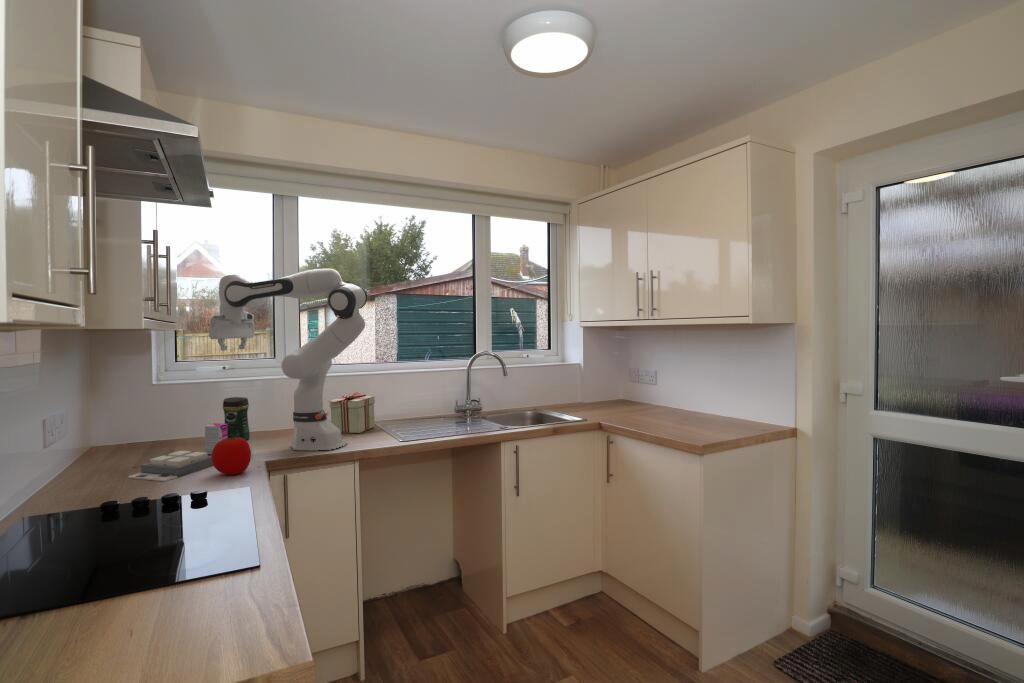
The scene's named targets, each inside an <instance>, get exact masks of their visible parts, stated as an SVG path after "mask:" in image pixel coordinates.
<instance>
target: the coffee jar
mask: <svg viewBox="0 0 1024 683" xmlns="http://www.w3.org/2000/svg"><path fill="white" fill-rule="evenodd" d="M249 406H250V404H249V399H248V397H245V396H243V397H240V396H239V397H238V396H234V397H232V396H231V397H226V398H224V399H223V401H222V410H223V413H224V424H228V438H232V436H234V437H238V438H240V437H244V438H243V439H245V440H246V441H248V440H249V439H250V437H251V434H250V427H249V419H248V418H249V416H248V410H249Z"/></svg>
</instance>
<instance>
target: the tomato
mask: <svg viewBox="0 0 1024 683" xmlns="http://www.w3.org/2000/svg"><path fill="white" fill-rule="evenodd" d="M243 438H244V437H240V438H238V437H234V436H232V438H227V439H224V440H221V441H219V442H218V443H217V444H216V445H215V446H214V449H213V451H212V463H213V467H214V468H215V470H216V471H218V472H219V473H221V474H223V475H227V476H229V475H230V476H231V475H233V476H234V475H239V474H242V473H243V472H245V471H246V470H247V469H248V468H249V466H250V462H251V458H252V451H251V447H250V444H249V442H248V440H245V439H243Z"/></svg>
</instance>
